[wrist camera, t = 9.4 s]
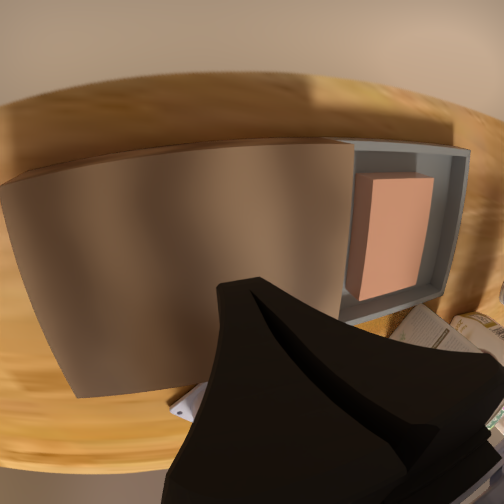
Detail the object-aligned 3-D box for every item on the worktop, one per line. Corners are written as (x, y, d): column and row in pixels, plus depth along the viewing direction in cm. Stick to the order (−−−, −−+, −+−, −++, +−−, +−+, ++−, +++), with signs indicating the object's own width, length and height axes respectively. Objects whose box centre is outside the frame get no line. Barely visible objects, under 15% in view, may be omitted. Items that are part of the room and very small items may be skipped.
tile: (373, 179, 18) (355, 173, 20) (358, 301, 22) (345, 288, 24) (434, 177, 20) (416, 172, 22) (415, 284, 24) (401, 274, 26)
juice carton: (480, 304, 35) (574, 381, 18) (455, 354, 38) (535, 433, 21) (453, 309, 32) (560, 403, 16) (425, 364, 35) (513, 458, 19)
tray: (453, 146, 22) (470, 150, 21) (430, 285, 28) (443, 295, 27) (318, 137, 19) (335, 140, 17) (309, 319, 25) (320, 334, 23)
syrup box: (382, 342, 30) (471, 441, 17) (419, 297, 29) (520, 385, 16) (404, 355, 32) (481, 439, 20) (437, 316, 31) (523, 392, 19)
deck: (318, 137, 19) (354, 144, 15) (309, 319, 25) (332, 351, 21) (26, 171, 14) (-3, 186, 11) (82, 359, 20) (77, 398, 17)
